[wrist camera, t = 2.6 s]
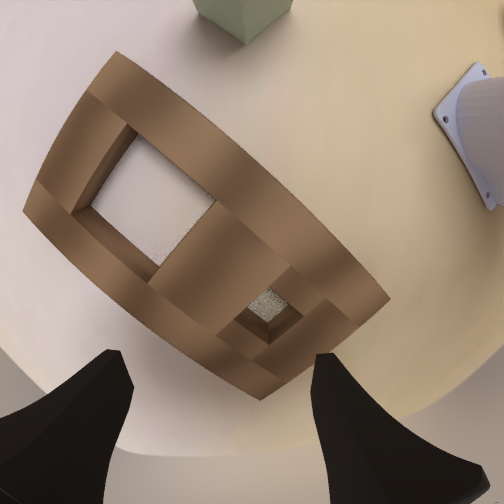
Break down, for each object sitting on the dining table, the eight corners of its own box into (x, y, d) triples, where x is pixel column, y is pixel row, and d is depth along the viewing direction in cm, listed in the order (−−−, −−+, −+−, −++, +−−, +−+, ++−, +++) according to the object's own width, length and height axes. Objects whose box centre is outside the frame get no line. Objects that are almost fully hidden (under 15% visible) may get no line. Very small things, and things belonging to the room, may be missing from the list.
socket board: (376, 281, 19) (390, 299, 16) (259, 378, 22) (260, 400, 19) (133, 61, 13) (116, 50, 11) (43, 203, 17) (22, 211, 14)
